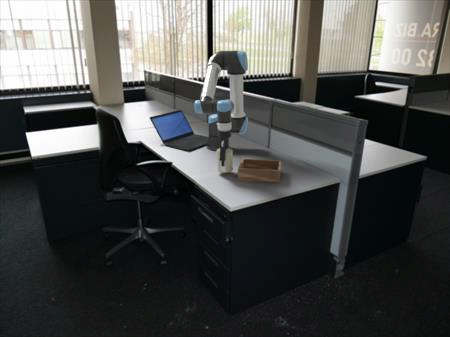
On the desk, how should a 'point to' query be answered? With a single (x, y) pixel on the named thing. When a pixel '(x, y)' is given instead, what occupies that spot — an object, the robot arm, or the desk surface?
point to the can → (228, 160)
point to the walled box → (259, 170)
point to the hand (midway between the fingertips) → (224, 167)
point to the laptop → (177, 131)
